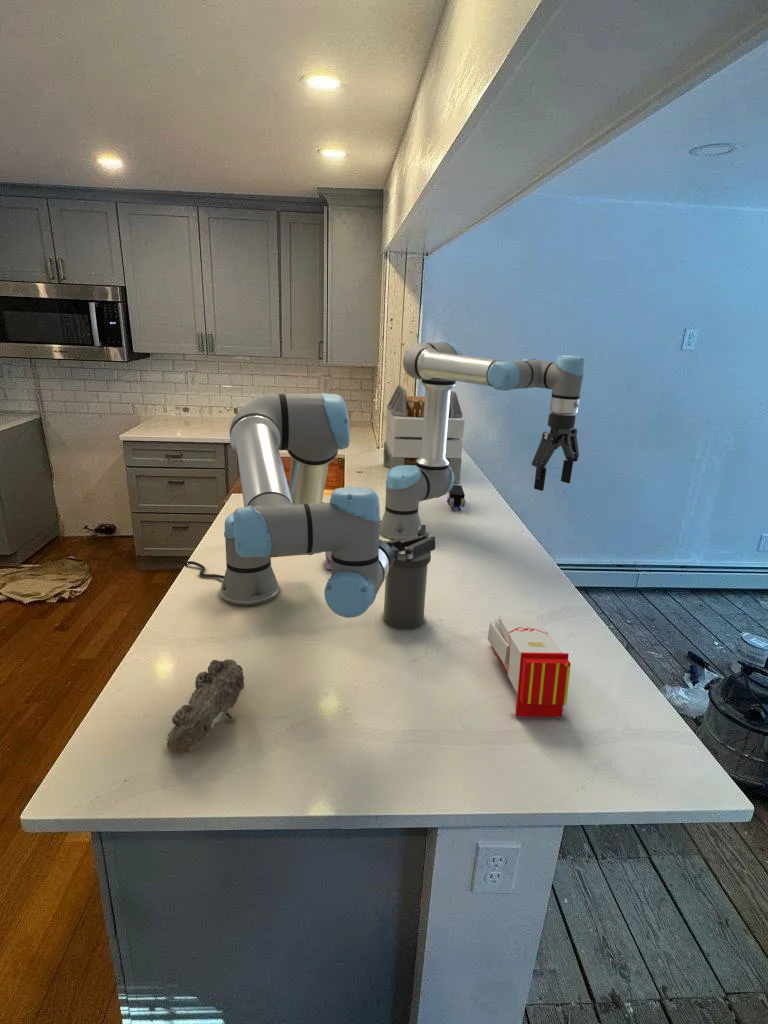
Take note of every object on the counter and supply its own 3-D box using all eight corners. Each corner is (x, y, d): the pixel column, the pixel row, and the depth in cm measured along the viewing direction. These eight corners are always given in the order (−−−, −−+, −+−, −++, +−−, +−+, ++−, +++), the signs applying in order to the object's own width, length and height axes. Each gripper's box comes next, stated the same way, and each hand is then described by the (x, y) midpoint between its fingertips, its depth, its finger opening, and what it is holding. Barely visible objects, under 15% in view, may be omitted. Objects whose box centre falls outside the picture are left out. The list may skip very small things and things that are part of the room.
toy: (534, 602, 136) (579, 659, 107) (529, 653, 139) (572, 723, 110) (484, 601, 136) (516, 658, 107) (480, 652, 139) (510, 722, 109)
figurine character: (465, 515, 224) (460, 499, 237) (467, 498, 221) (462, 483, 234) (448, 515, 224) (444, 499, 237) (450, 498, 220) (445, 482, 234)
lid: (417, 572, 132) (418, 565, 132) (375, 560, 138) (375, 553, 137) (438, 556, 142) (438, 549, 141) (397, 545, 147) (398, 538, 146)
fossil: (192, 660, 117) (244, 628, 112) (224, 691, 120) (276, 661, 115) (142, 746, 98) (202, 712, 93) (182, 779, 101) (242, 748, 96)
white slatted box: (382, 463, 289) (386, 382, 275) (445, 464, 293) (451, 384, 279) (390, 482, 257) (394, 392, 243) (460, 483, 261) (468, 394, 247)
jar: (412, 633, 139) (416, 565, 133) (376, 621, 144) (379, 555, 137) (430, 615, 147) (435, 551, 141) (395, 604, 152) (399, 541, 146)
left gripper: (303, 578, 104) (336, 542, 124) (439, 588, 99) (450, 549, 119) (301, 539, 102) (335, 509, 122) (439, 548, 97) (451, 514, 117)
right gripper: (548, 419, 148) (537, 496, 155) (598, 411, 163) (586, 482, 171) (525, 414, 153) (515, 489, 160) (575, 407, 169) (564, 476, 176)
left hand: (392, 528), depth 120 cm, fingers open, 13 cm apart
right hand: (552, 485), depth 166 cm, fingers open, 13 cm apart
